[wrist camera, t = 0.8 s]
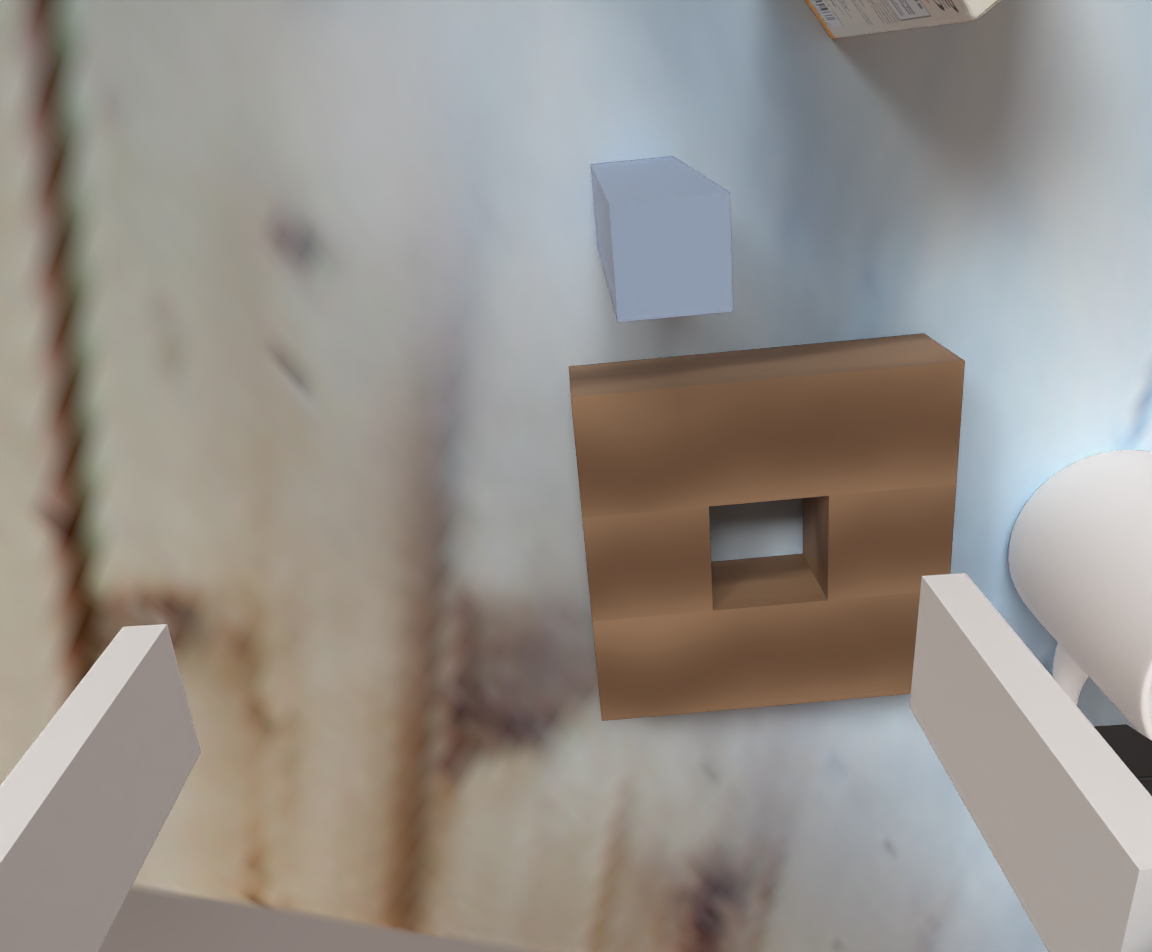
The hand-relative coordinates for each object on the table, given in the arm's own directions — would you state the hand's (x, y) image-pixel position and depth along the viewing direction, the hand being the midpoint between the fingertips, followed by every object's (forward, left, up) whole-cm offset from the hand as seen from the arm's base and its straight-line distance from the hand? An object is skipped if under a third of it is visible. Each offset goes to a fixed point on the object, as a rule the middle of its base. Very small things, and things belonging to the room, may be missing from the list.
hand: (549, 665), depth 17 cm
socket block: (+8, +8, -22) cm, 25 cm away
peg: (-5, +4, -22) cm, 23 cm away
